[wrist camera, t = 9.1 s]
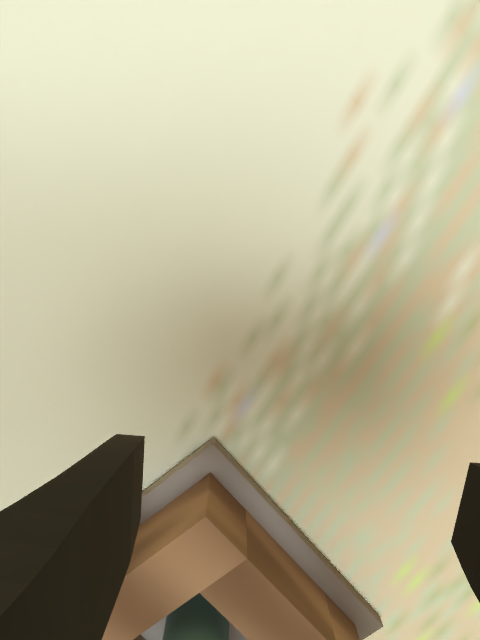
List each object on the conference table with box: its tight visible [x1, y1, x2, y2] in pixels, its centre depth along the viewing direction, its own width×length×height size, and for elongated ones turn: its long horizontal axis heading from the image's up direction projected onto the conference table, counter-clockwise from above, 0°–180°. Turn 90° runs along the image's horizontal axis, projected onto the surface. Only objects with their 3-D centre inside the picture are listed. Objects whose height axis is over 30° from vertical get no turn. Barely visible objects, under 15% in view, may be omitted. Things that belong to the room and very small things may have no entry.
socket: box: [102, 437, 383, 640], centre depth 21 cm, size 13×13×4 cm
